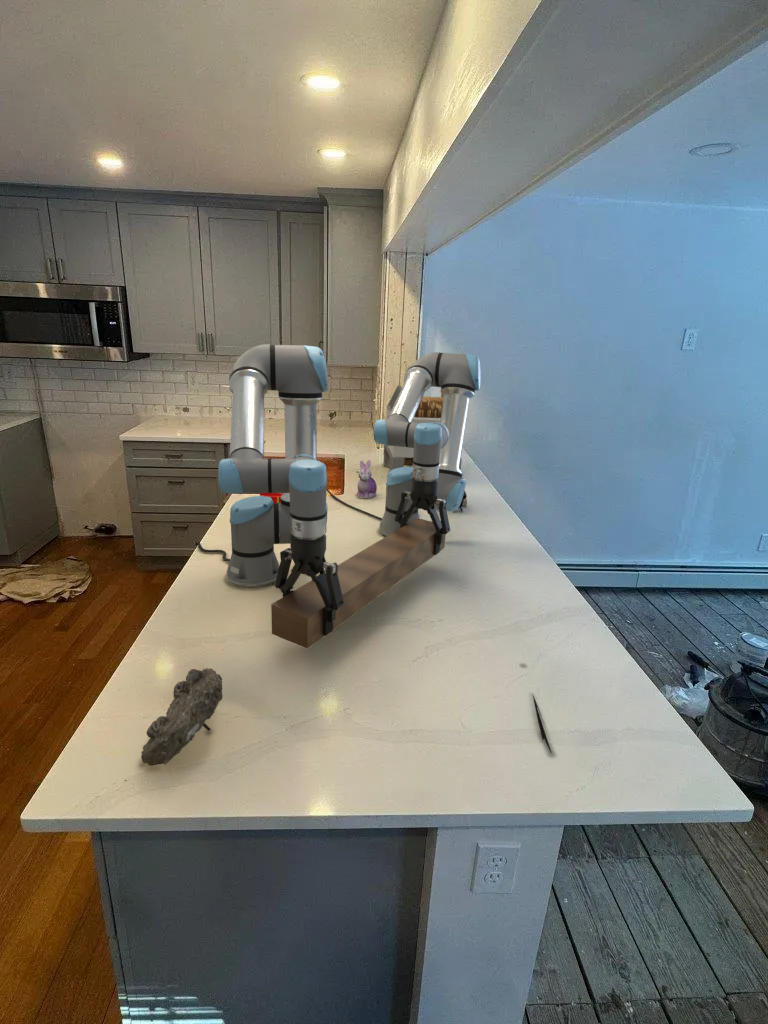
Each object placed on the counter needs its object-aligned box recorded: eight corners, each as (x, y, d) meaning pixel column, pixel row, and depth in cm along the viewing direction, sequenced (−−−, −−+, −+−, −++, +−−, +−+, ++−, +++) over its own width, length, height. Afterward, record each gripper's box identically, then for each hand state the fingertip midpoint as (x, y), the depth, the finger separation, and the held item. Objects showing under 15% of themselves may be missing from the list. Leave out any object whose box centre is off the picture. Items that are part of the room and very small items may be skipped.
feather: (523, 669, 129) (529, 663, 128) (551, 758, 102) (558, 750, 101) (517, 665, 128) (523, 659, 128) (543, 753, 102) (550, 746, 101)
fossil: (171, 669, 114) (224, 637, 109) (205, 700, 117) (257, 670, 112) (115, 759, 95) (175, 724, 90) (157, 793, 97) (218, 762, 92)
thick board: (415, 540, 178) (417, 518, 175) (444, 548, 173) (446, 525, 171) (271, 633, 124) (271, 604, 122) (307, 649, 119) (307, 618, 117)
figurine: (361, 500, 232) (362, 464, 227) (351, 492, 241) (352, 458, 236) (382, 497, 237) (383, 462, 232) (371, 490, 245) (372, 456, 240)
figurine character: (467, 516, 223) (461, 500, 237) (469, 499, 220) (463, 483, 233) (450, 516, 223) (446, 499, 236) (452, 498, 220) (447, 483, 233)
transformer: (382, 463, 289) (386, 382, 275) (445, 464, 293) (451, 384, 279) (390, 482, 257) (394, 392, 243) (460, 483, 261) (468, 394, 247)
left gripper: (255, 526, 121) (259, 617, 129) (341, 553, 111) (340, 650, 119) (279, 516, 127) (281, 603, 135) (363, 541, 117) (360, 633, 125)
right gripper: (384, 473, 165) (381, 543, 172) (455, 489, 154) (449, 563, 162) (397, 468, 171) (394, 536, 178) (466, 482, 160) (459, 554, 168)
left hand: (308, 625), depth 127 cm, fingers closed on thick board, 10 cm apart
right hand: (420, 548), depth 170 cm, fingers closed on thick board, 10 cm apart
